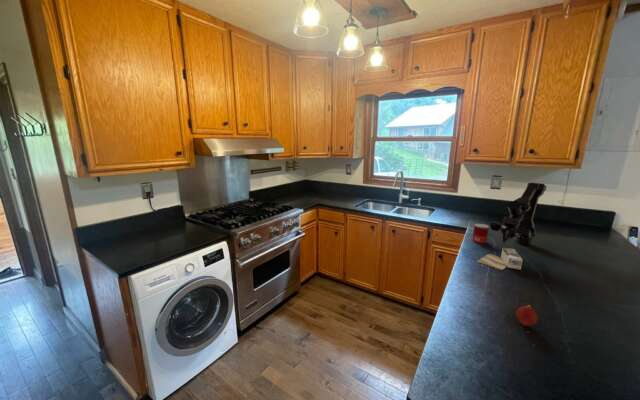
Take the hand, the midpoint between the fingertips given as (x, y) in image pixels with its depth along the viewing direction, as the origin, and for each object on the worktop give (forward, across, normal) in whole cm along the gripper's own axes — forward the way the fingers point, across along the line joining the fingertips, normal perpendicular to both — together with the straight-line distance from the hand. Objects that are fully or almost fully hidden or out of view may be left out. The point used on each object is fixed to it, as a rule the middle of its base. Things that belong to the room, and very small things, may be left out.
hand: (503, 242), depth 143 cm
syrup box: (+3, +2, +6) cm, 7 cm away
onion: (+46, +27, -32) cm, 62 cm away
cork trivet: (+12, 0, +1) cm, 13 cm away
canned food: (-5, -18, +19) cm, 27 cm away
